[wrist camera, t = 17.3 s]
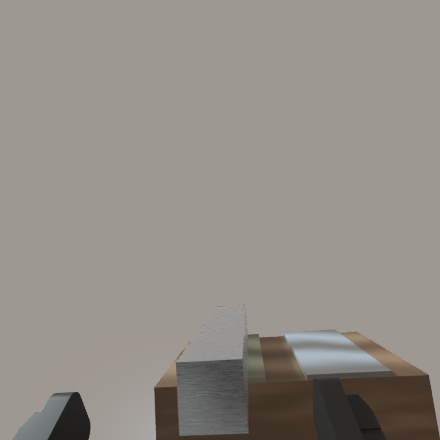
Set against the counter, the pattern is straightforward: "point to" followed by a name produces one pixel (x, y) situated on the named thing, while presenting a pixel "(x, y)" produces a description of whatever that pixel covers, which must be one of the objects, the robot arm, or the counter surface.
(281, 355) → the stand
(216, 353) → the bar
